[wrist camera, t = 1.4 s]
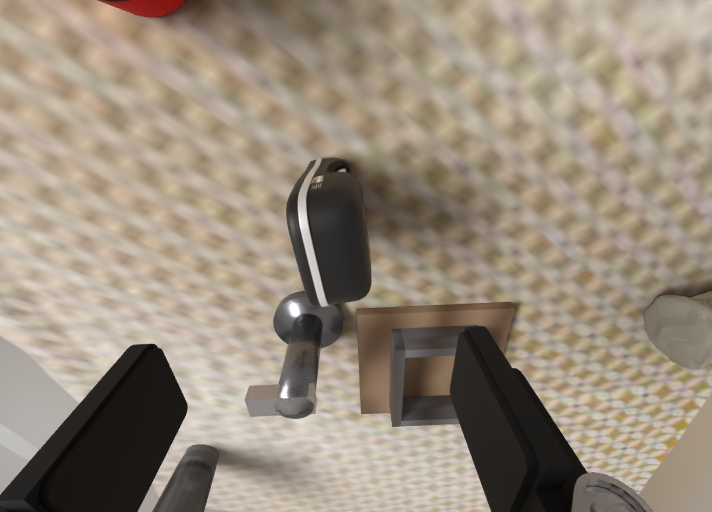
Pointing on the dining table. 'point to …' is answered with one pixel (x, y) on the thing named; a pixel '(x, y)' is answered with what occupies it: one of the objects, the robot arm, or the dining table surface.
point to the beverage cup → (190, 481)
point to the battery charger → (330, 233)
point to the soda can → (146, 6)
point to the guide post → (297, 358)
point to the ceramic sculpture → (682, 328)
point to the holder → (418, 357)
